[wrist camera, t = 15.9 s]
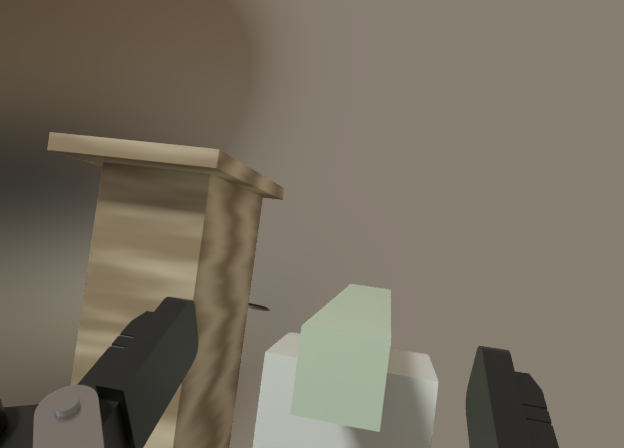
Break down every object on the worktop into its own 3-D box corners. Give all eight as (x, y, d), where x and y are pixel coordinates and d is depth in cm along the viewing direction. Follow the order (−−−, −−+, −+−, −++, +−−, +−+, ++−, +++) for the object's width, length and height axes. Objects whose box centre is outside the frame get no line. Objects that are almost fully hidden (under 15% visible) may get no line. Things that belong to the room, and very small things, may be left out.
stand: (151, 781, 24) (237, 151, 25) (-54, 712, 26) (34, 130, 27) (248, 563, 41) (297, 190, 42) (119, 531, 43) (169, 176, 44)
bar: (379, 432, 18) (391, 339, 18) (290, 414, 19) (301, 325, 19) (385, 329, 42) (390, 289, 42) (345, 323, 42) (351, 284, 43)
